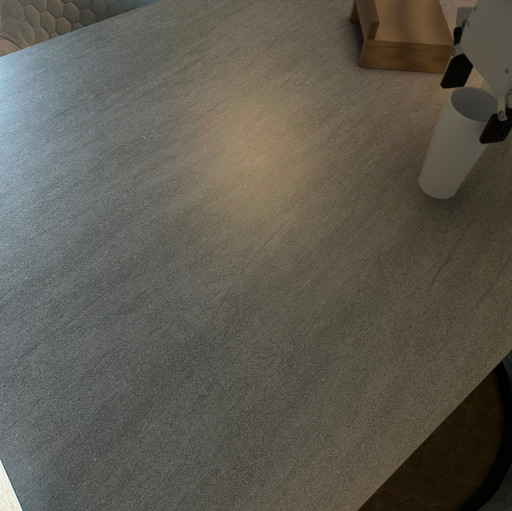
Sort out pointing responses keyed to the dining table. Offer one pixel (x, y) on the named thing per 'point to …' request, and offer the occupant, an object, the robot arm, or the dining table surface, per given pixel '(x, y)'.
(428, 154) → the drinking glass
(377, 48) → the tan wooden box
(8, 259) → the dining table surface
